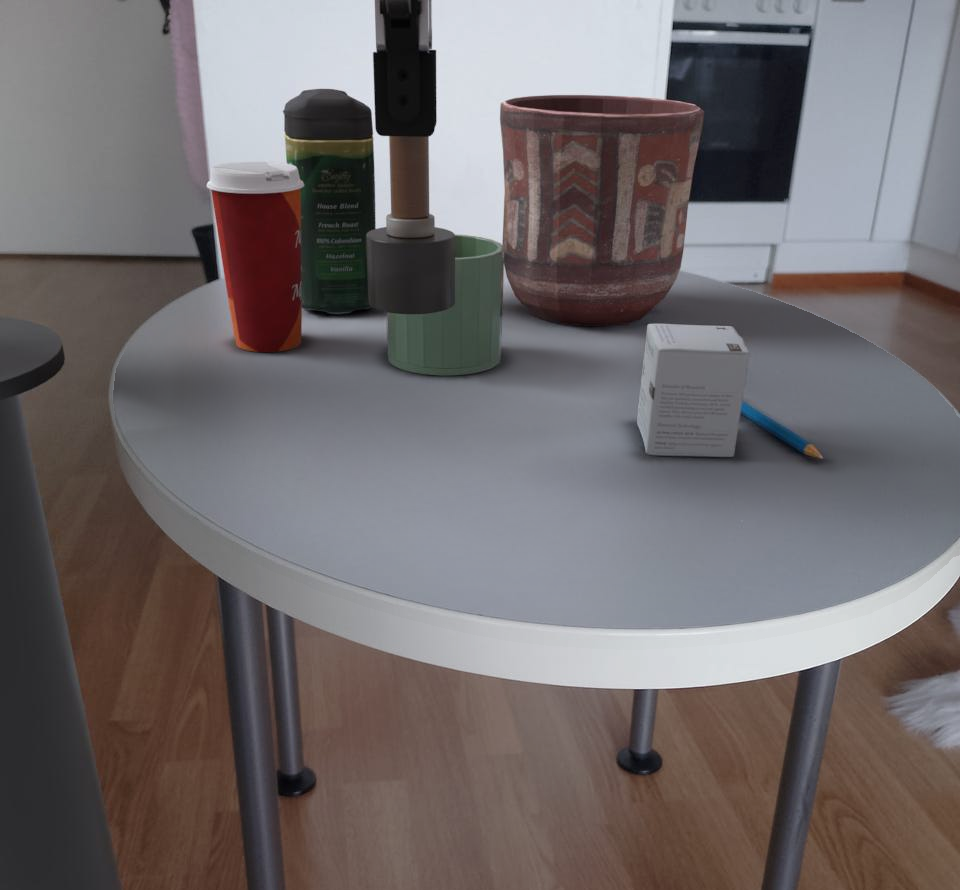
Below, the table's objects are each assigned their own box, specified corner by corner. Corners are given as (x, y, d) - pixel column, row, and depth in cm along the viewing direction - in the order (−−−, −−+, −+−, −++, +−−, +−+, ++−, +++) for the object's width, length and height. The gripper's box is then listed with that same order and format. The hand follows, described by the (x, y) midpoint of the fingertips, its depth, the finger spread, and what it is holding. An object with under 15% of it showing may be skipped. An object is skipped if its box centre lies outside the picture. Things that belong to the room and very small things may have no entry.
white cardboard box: (635, 424, 78) (645, 321, 74) (719, 426, 78) (734, 323, 74) (645, 457, 73) (657, 347, 69) (736, 458, 73) (753, 349, 69)
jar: (415, 381, 85) (414, 263, 81) (370, 349, 92) (366, 239, 88) (520, 367, 89) (525, 253, 84) (469, 337, 96) (470, 230, 92)
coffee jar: (383, 315, 102) (378, 94, 92) (298, 318, 100) (283, 94, 91) (371, 290, 110) (364, 84, 100) (292, 292, 108) (278, 84, 99)
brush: (389, 318, 62) (380, 18, 55) (355, 297, 66) (343, 15, 59) (469, 309, 65) (472, 18, 57) (432, 289, 69) (430, 15, 61)
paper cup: (331, 344, 93) (322, 169, 86) (255, 361, 89) (238, 178, 82) (279, 325, 98) (267, 157, 91) (205, 340, 94) (185, 165, 86)
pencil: (702, 383, 86) (703, 374, 85) (827, 462, 72) (829, 453, 72) (693, 384, 86) (694, 375, 85) (817, 464, 72) (819, 454, 72)
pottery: (509, 338, 96) (517, 113, 87) (483, 289, 111) (487, 93, 101) (703, 335, 98) (731, 115, 89) (652, 288, 113) (671, 94, 104)
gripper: (337, -266, 58) (353, 116, 67) (294, -342, 44) (322, 150, 54) (478, -263, 58) (474, 117, 68) (478, -338, 44) (473, 153, 54)
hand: (406, 129), depth 61 cm, fingers closed on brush
